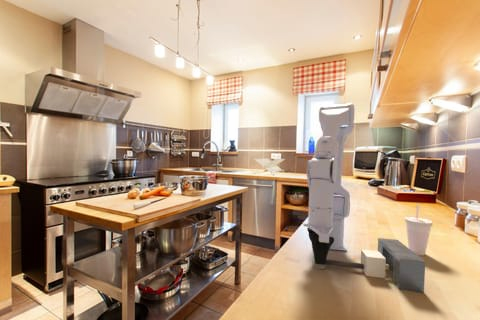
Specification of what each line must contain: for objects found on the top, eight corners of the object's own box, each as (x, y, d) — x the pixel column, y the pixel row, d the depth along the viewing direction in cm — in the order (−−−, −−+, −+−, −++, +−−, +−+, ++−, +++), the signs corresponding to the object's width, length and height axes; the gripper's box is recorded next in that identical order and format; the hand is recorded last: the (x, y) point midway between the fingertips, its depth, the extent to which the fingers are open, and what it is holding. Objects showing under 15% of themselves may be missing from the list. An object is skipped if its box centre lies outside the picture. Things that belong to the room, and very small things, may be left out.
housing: (377, 262, 59) (378, 237, 58) (396, 264, 58) (397, 239, 57) (399, 289, 47) (400, 258, 47) (423, 292, 46) (425, 261, 46)
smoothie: (418, 248, 69) (420, 202, 68) (437, 257, 62) (439, 207, 62) (398, 247, 68) (400, 202, 68) (415, 257, 62) (417, 207, 62)
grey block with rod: (312, 261, 58) (313, 238, 58) (382, 270, 55) (383, 245, 55) (314, 269, 54) (315, 244, 54) (389, 278, 51) (391, 252, 51)
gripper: (302, 199, 64) (300, 246, 64) (306, 212, 49) (304, 272, 50) (328, 201, 62) (327, 249, 62) (340, 215, 48) (338, 277, 48)
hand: (318, 260), depth 56 cm, fingers closed on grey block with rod, 3 cm apart
